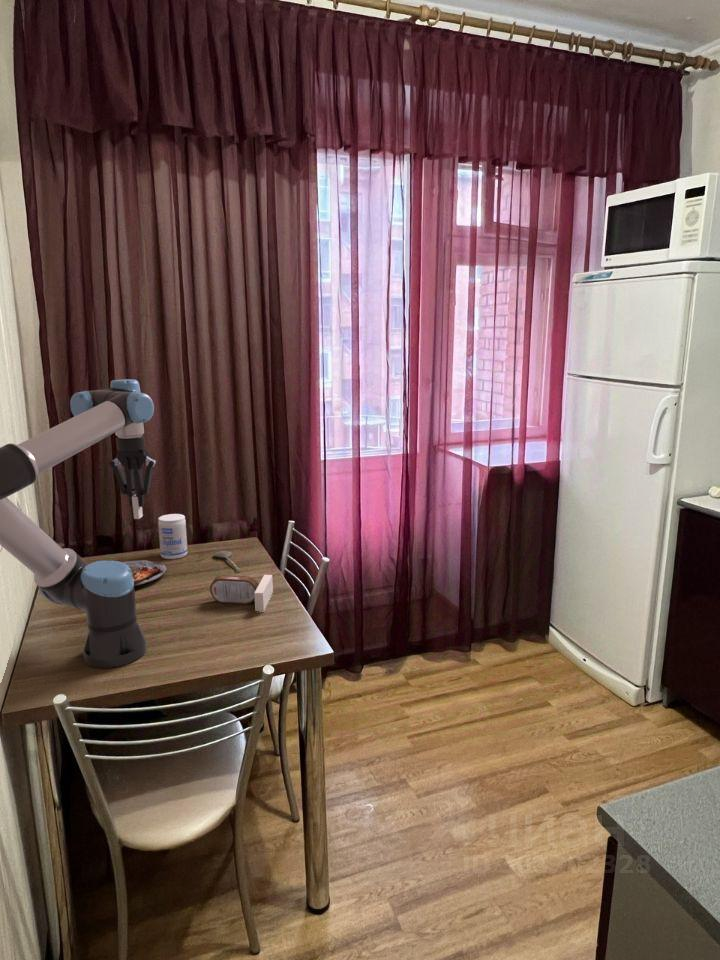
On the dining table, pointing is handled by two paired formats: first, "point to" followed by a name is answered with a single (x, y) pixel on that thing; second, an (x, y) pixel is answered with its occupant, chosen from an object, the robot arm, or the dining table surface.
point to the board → (263, 593)
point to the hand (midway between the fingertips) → (138, 517)
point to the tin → (234, 589)
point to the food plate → (146, 571)
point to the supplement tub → (172, 536)
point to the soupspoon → (225, 555)
